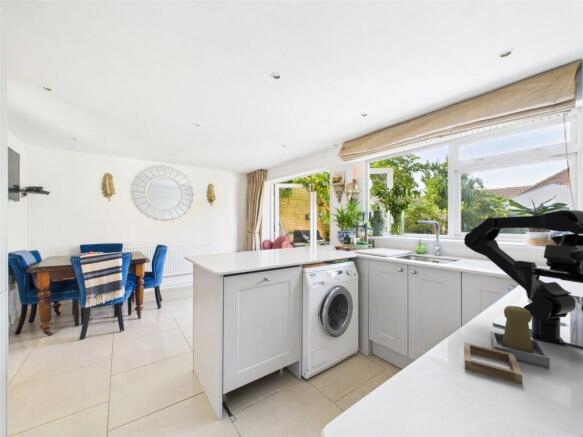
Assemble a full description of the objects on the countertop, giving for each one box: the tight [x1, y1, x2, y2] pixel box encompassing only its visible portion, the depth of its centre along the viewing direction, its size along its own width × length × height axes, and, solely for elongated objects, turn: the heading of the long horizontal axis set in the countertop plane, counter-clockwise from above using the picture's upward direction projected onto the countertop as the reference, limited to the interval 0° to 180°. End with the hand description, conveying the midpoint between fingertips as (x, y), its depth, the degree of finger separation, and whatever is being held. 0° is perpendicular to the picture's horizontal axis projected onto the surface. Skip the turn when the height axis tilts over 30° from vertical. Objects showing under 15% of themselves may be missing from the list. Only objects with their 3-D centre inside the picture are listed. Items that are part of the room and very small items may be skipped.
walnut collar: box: [463, 342, 523, 386], centre depth 58 cm, size 10×10×2 cm
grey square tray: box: [490, 330, 551, 370], centre depth 63 cm, size 10×10×2 cm
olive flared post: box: [502, 305, 533, 353], centre depth 63 cm, size 6×6×11 cm
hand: (554, 304), depth 59 cm, fingers open, 9 cm apart
